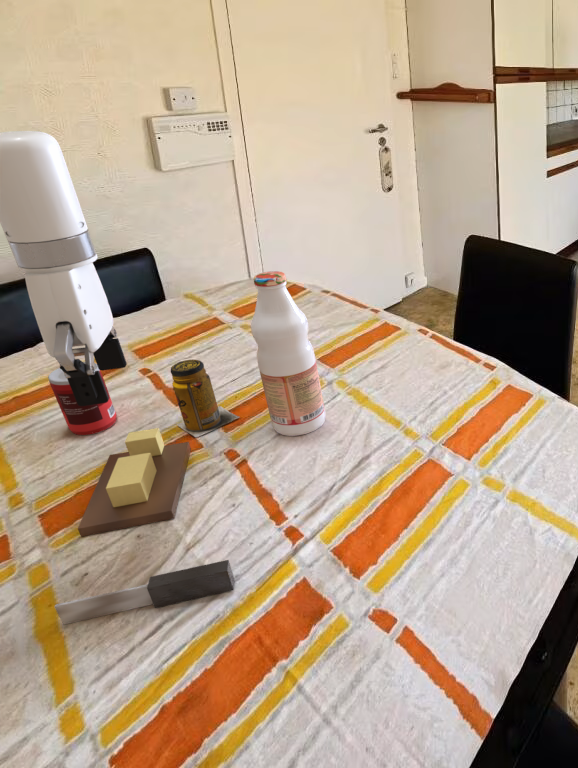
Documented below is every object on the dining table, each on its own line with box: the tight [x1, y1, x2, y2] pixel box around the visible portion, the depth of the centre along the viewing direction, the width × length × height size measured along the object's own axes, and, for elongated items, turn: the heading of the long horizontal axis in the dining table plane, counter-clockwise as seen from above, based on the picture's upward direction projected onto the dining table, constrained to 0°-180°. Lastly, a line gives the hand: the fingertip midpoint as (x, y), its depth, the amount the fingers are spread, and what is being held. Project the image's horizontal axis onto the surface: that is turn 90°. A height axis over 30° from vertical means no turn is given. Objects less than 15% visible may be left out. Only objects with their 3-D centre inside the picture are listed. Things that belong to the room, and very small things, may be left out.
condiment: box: [170, 359, 240, 438], centre depth 111 cm, size 7×8×12 cm
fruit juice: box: [250, 270, 326, 437], centre depth 107 cm, size 9×9×28 cm
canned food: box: [47, 361, 117, 436], centre depth 111 cm, size 8×8×11 cm
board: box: [77, 441, 192, 537], centre depth 97 cm, size 12×19×2 cm, turn 18°
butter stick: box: [106, 453, 157, 507], centre depth 94 cm, size 4×8×4 cm, turn 17°
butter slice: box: [124, 427, 165, 456], centre depth 102 cm, size 4×3×4 cm, turn 108°
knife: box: [54, 559, 235, 625], centre depth 76 cm, size 19×2×3 cm, turn 108°
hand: (104, 384), depth 78 cm, fingers open, 9 cm apart
